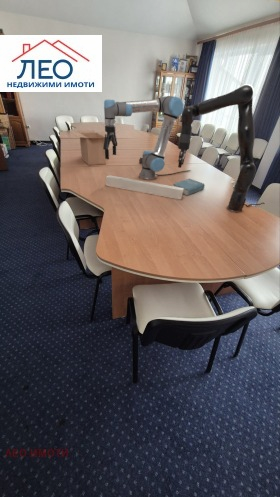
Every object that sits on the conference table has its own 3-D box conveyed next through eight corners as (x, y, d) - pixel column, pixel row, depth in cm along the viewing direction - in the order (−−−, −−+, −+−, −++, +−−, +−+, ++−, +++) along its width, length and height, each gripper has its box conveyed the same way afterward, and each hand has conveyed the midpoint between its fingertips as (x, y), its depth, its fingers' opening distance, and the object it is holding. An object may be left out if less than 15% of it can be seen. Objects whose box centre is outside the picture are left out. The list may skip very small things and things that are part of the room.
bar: (106, 185, 183) (105, 176, 178) (108, 183, 187) (108, 175, 182) (180, 199, 169) (182, 190, 165) (182, 197, 173) (183, 188, 168)
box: (116, 165, 229) (116, 136, 213) (83, 168, 214) (80, 137, 198) (102, 154, 259) (101, 128, 243) (71, 156, 244) (68, 129, 228)
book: (188, 184, 197) (189, 178, 194) (203, 189, 189) (204, 183, 186) (172, 189, 184) (173, 183, 181) (188, 196, 175) (189, 190, 172)
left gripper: (107, 128, 147) (108, 161, 160) (121, 124, 167) (121, 153, 179) (97, 127, 149) (99, 160, 162) (112, 123, 168) (113, 152, 181)
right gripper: (188, 143, 142) (184, 169, 151) (191, 140, 153) (187, 164, 163) (177, 142, 144) (173, 167, 153) (180, 138, 155) (177, 162, 164)
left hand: (110, 156), depth 170 cm, fingers open, 13 cm apart
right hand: (180, 165), depth 158 cm, fingers open, 8 cm apart
